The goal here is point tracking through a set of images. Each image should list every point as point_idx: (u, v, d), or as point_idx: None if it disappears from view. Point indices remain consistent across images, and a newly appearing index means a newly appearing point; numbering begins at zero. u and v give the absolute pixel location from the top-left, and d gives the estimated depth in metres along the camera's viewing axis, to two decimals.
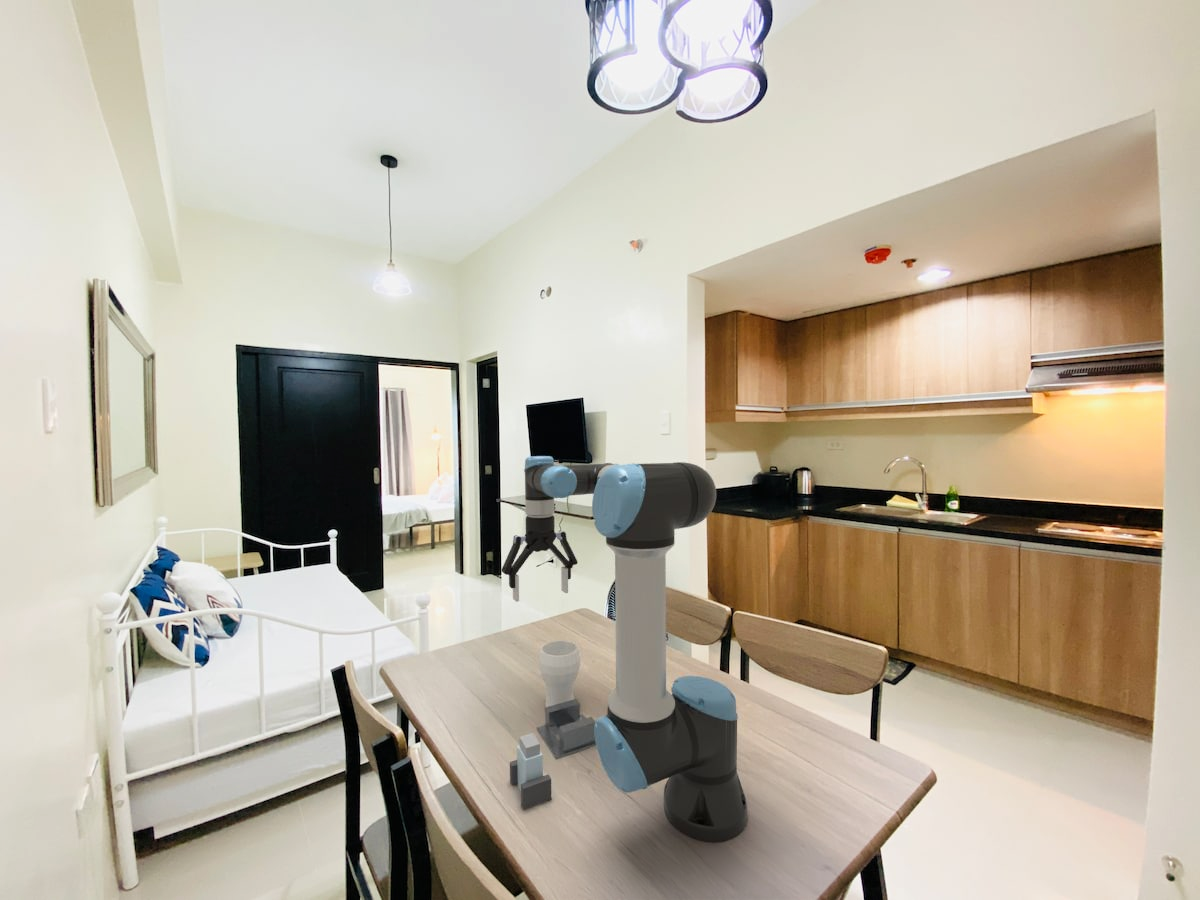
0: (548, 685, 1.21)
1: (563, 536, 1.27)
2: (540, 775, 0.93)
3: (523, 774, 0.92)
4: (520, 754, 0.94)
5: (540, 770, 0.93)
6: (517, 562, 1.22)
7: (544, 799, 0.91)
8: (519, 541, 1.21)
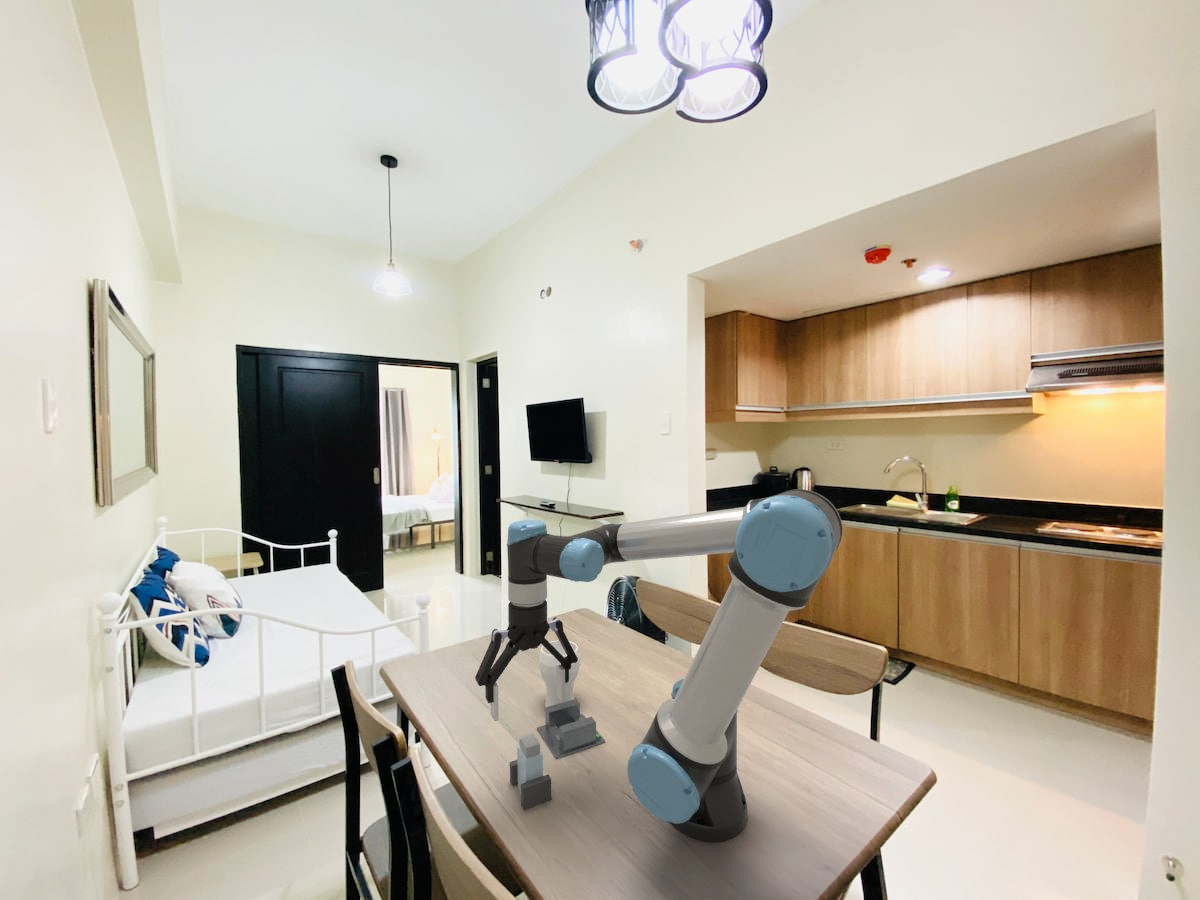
0: (548, 685, 1.21)
1: (559, 627, 0.95)
2: (540, 775, 0.93)
3: (523, 774, 0.92)
4: (520, 754, 0.94)
5: (540, 770, 0.93)
6: (496, 667, 0.91)
7: (544, 799, 0.91)
8: (499, 639, 0.90)
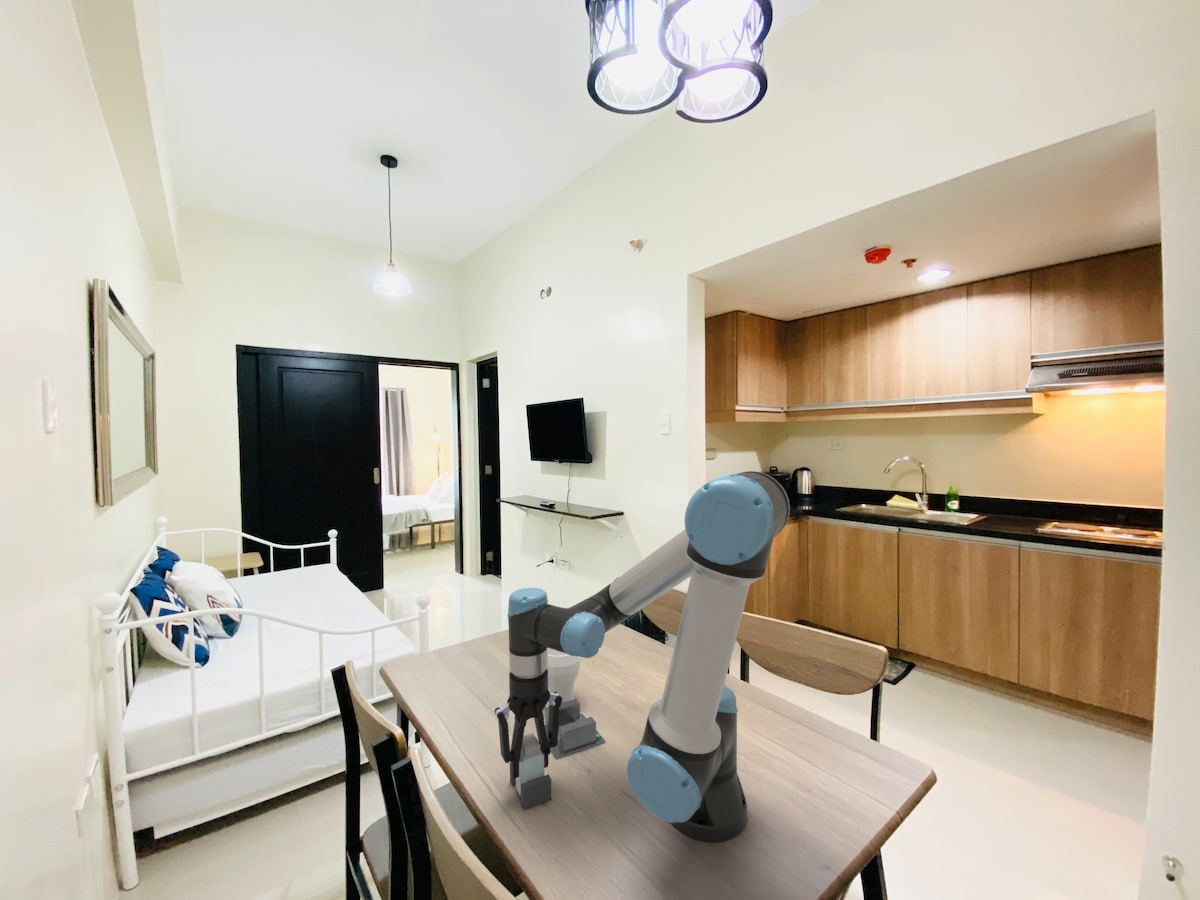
0: (548, 685, 1.21)
1: (557, 702, 0.95)
2: (540, 775, 0.93)
3: None
4: None
5: (540, 770, 0.93)
6: (514, 743, 0.92)
7: (544, 799, 0.91)
8: (503, 718, 0.90)
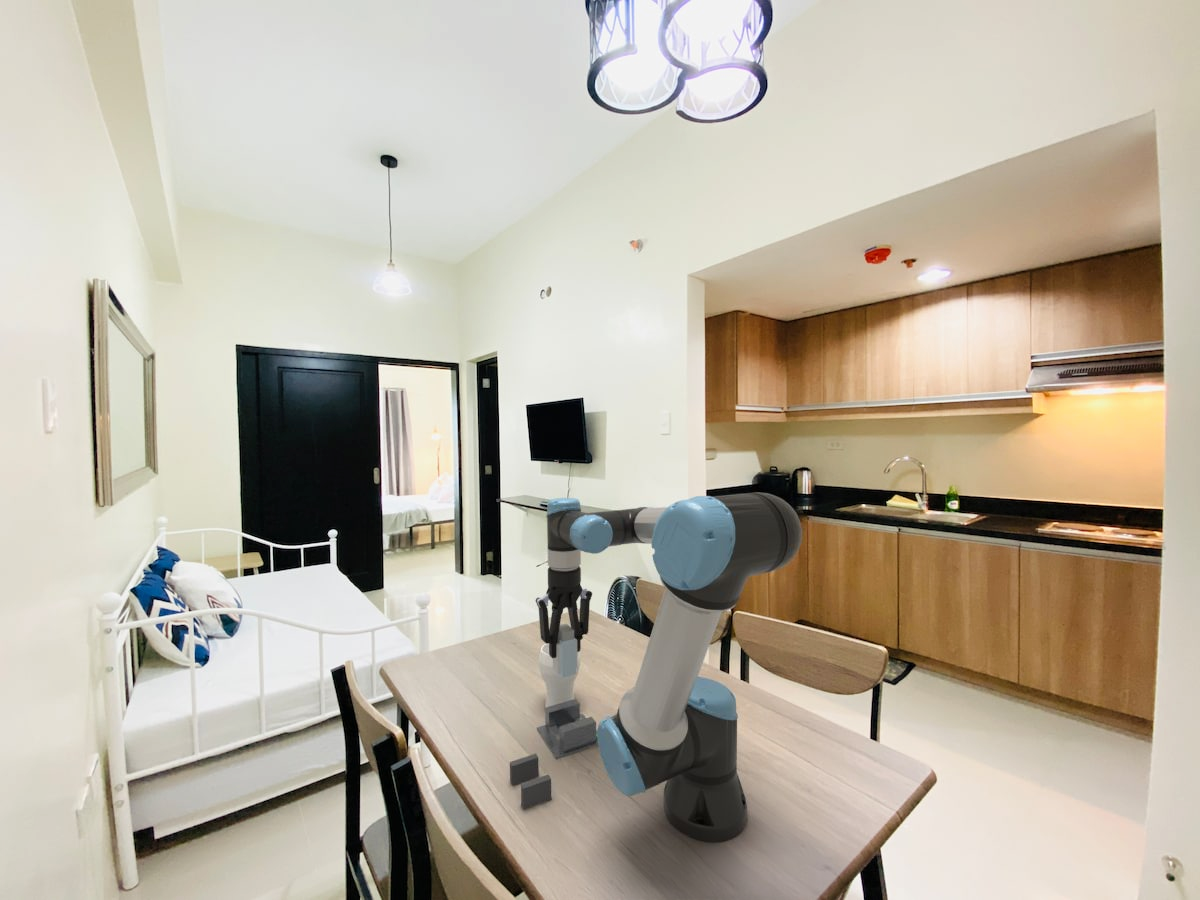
0: (548, 685, 1.21)
1: (588, 596, 1.11)
2: (574, 656, 1.08)
3: None
4: None
5: (574, 652, 1.08)
6: (552, 628, 1.07)
7: (544, 799, 0.91)
8: (544, 605, 1.05)
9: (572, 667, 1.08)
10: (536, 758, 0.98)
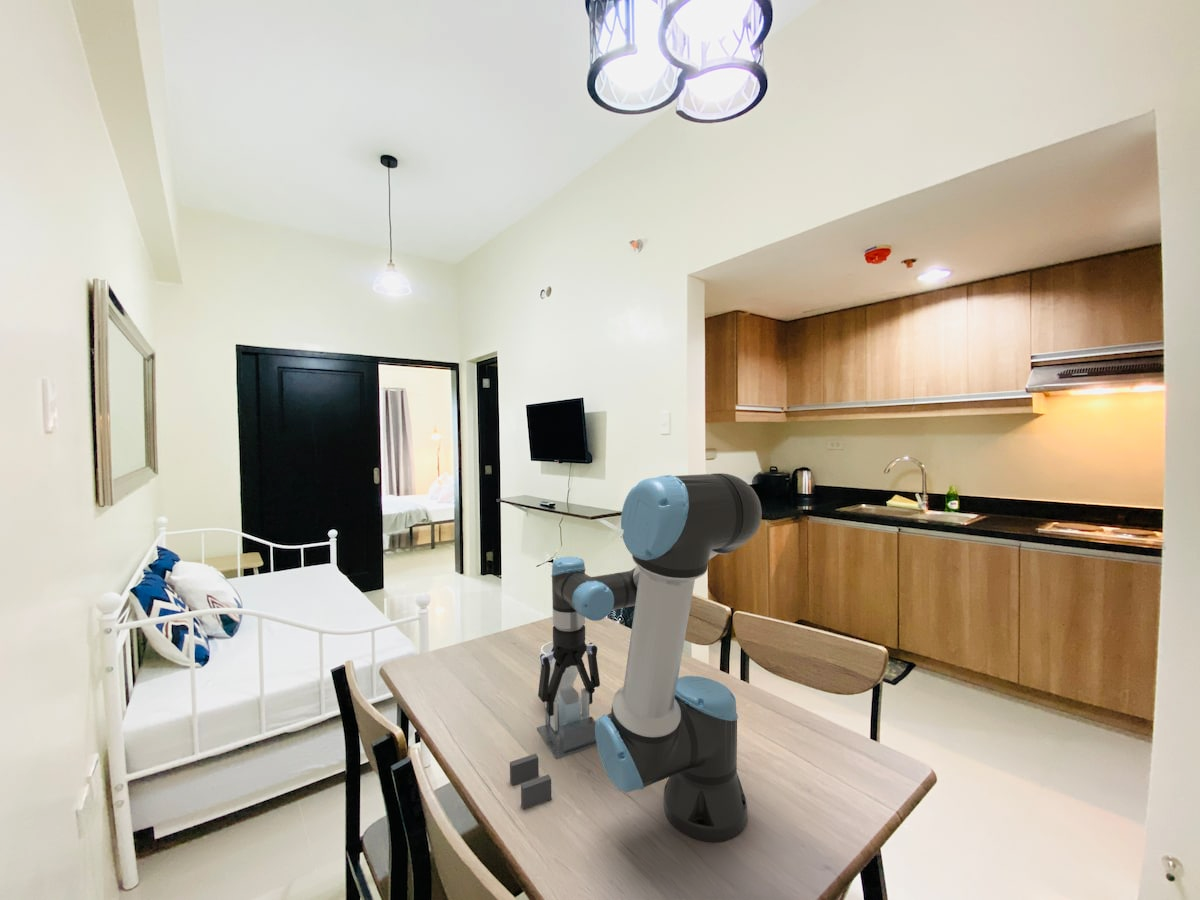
0: (548, 685, 1.21)
1: (594, 651, 1.13)
2: (578, 719, 1.10)
3: (564, 718, 1.10)
4: (561, 702, 1.11)
5: (578, 715, 1.10)
6: (552, 685, 1.09)
7: (544, 799, 0.91)
8: (547, 662, 1.07)
9: None
10: (536, 758, 0.98)
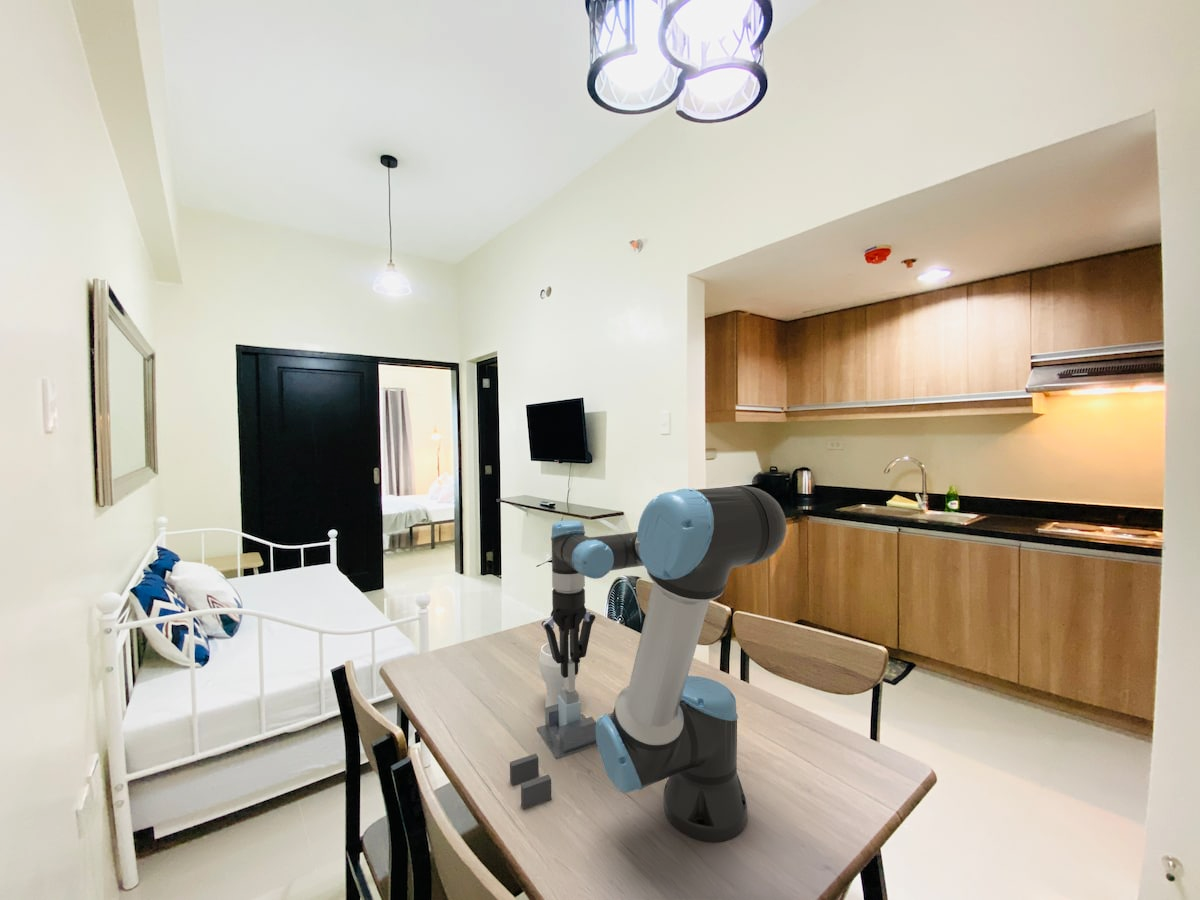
0: (548, 685, 1.21)
1: (591, 619, 1.12)
2: (578, 719, 1.10)
3: (564, 718, 1.10)
4: (561, 702, 1.11)
5: (578, 715, 1.10)
6: (562, 649, 1.10)
7: (544, 799, 0.91)
8: (550, 628, 1.07)
9: None
10: (536, 758, 0.98)
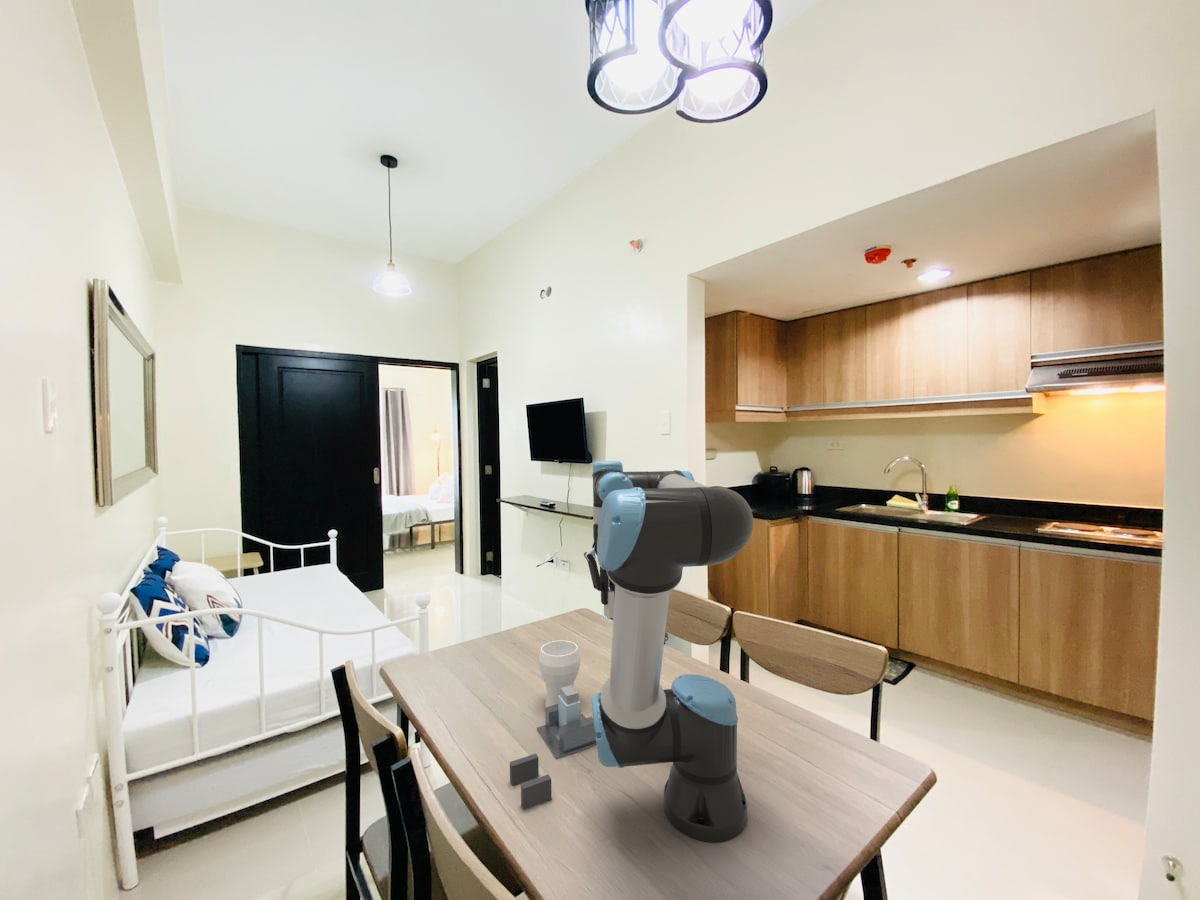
0: (548, 685, 1.21)
1: None
2: (578, 719, 1.10)
3: (564, 718, 1.10)
4: (561, 702, 1.11)
5: (578, 715, 1.10)
6: (602, 578, 1.19)
7: (544, 799, 0.91)
8: (592, 557, 1.16)
9: None
10: (536, 758, 0.98)
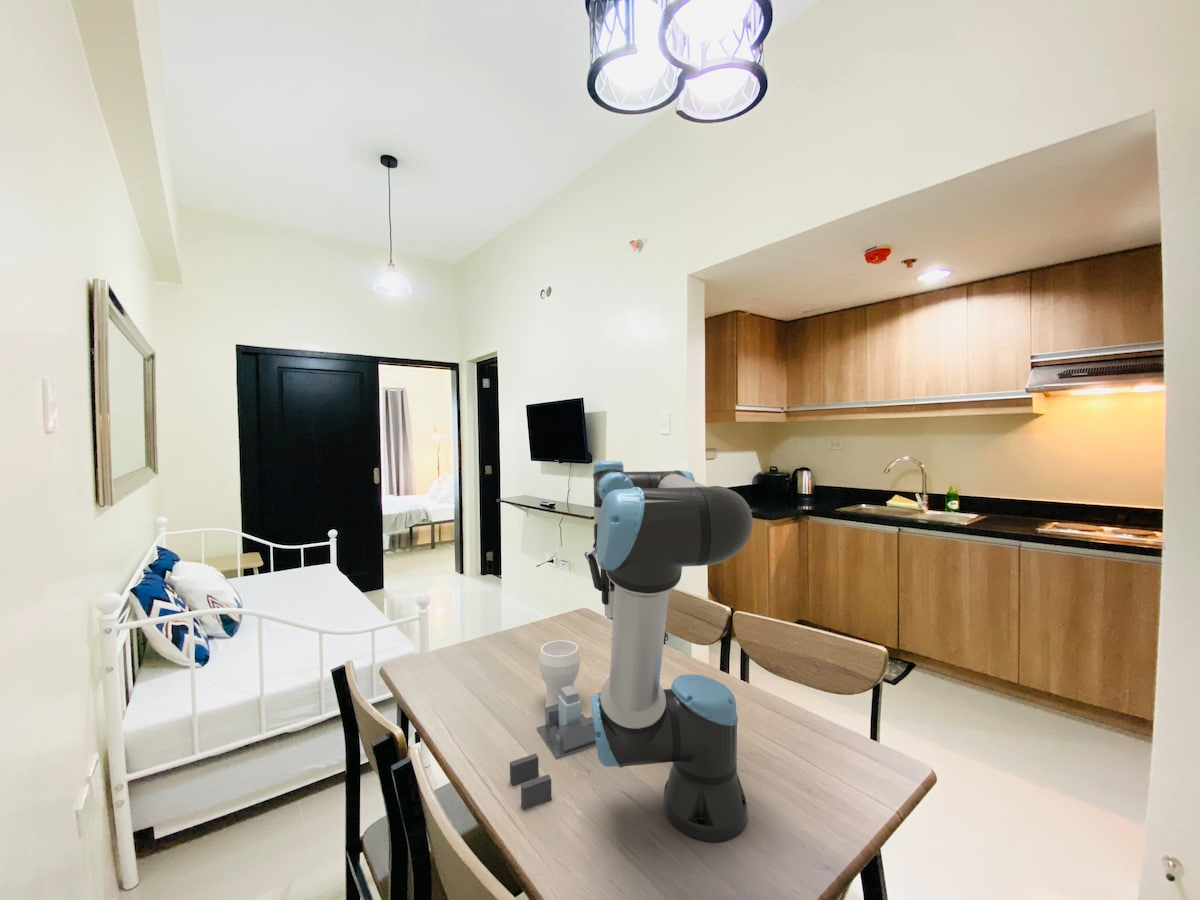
0: (548, 685, 1.21)
1: None
2: (578, 719, 1.10)
3: (564, 718, 1.10)
4: (561, 702, 1.11)
5: (578, 715, 1.10)
6: (603, 578, 1.19)
7: (544, 799, 0.91)
8: (593, 557, 1.17)
9: None
10: (536, 758, 0.98)
